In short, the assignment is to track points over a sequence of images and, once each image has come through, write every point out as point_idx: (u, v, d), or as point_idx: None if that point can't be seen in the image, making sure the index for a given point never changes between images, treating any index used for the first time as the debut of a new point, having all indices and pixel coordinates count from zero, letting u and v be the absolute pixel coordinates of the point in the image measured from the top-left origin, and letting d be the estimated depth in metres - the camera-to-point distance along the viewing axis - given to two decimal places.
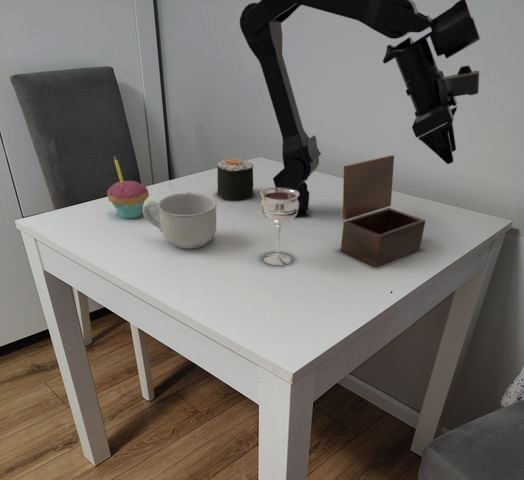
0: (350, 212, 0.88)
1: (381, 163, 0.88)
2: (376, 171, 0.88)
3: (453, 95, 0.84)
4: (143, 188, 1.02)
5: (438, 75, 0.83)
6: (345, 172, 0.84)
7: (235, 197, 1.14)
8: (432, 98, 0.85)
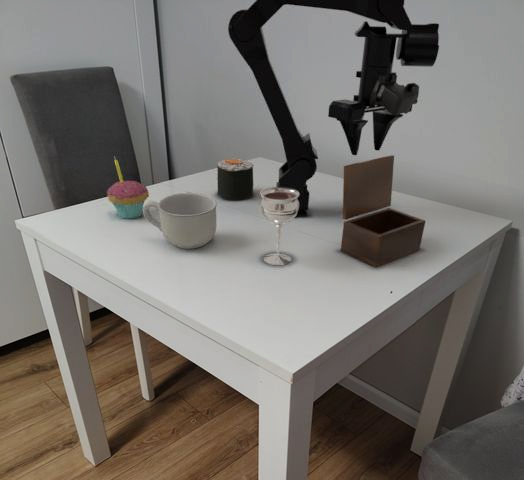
0: (350, 212, 0.88)
1: (381, 163, 0.88)
2: (376, 171, 0.88)
3: (380, 102, 0.91)
4: (143, 188, 1.02)
5: (379, 77, 0.90)
6: (345, 172, 0.84)
7: (235, 197, 1.14)
8: (367, 94, 0.93)
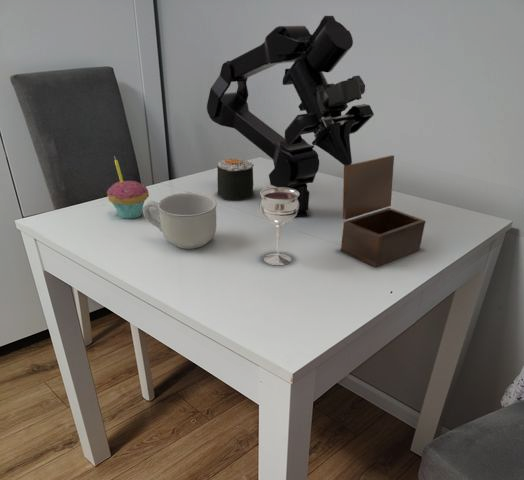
0: (350, 212, 0.88)
1: (381, 163, 0.88)
2: (376, 171, 0.88)
3: (329, 104, 0.87)
4: (143, 188, 1.02)
5: (316, 88, 0.88)
6: (345, 172, 0.84)
7: (235, 197, 1.14)
8: (315, 110, 0.89)
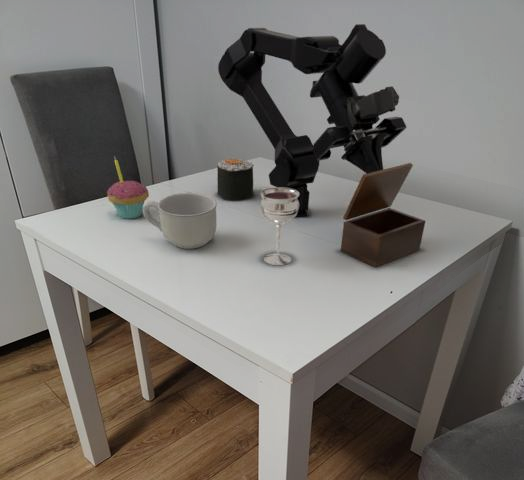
0: (352, 214, 0.88)
1: (398, 172, 0.86)
2: (390, 179, 0.87)
3: (360, 117, 0.82)
4: (143, 188, 1.02)
5: (346, 100, 0.83)
6: (362, 181, 0.82)
7: (235, 197, 1.14)
8: (345, 123, 0.85)
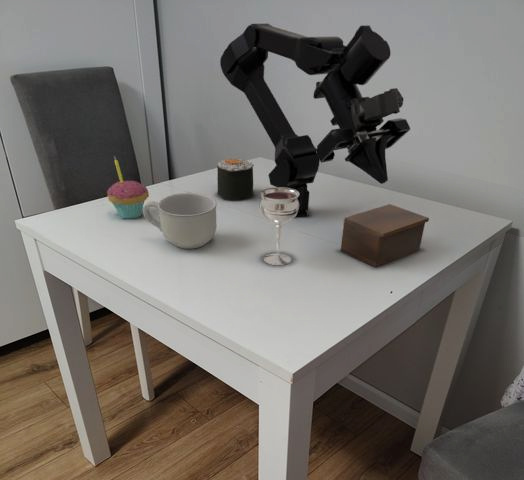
0: None
1: None
2: None
3: (364, 119, 0.82)
4: (143, 188, 1.02)
5: (350, 101, 0.83)
6: (378, 234, 0.83)
7: (235, 197, 1.14)
8: (349, 125, 0.84)
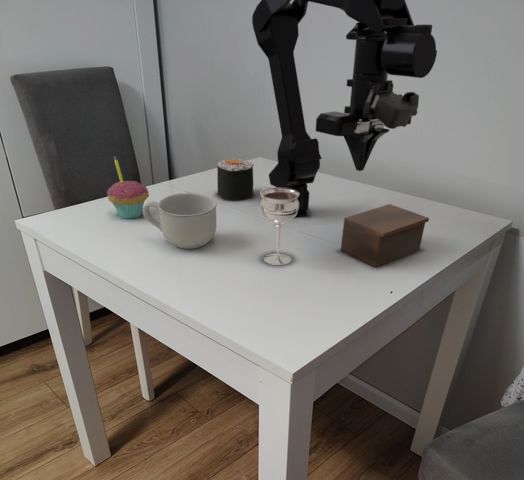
0: None
1: None
2: None
3: (374, 115, 0.80)
4: (143, 188, 1.02)
5: (372, 86, 0.78)
6: (378, 234, 0.83)
7: (235, 197, 1.14)
8: (359, 105, 0.81)
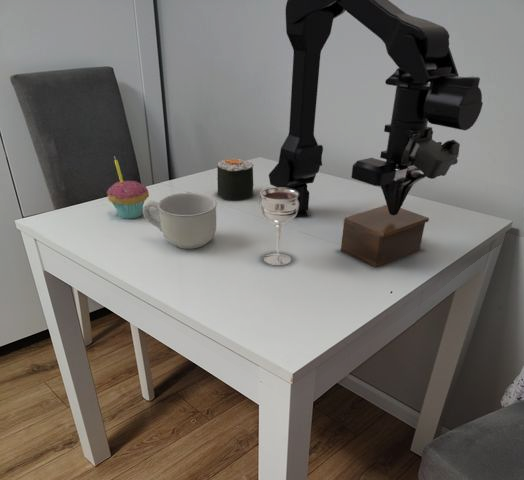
0: None
1: None
2: None
3: (413, 163, 0.77)
4: (143, 188, 1.02)
5: (412, 134, 0.76)
6: (378, 234, 0.83)
7: (235, 197, 1.14)
8: (397, 152, 0.79)
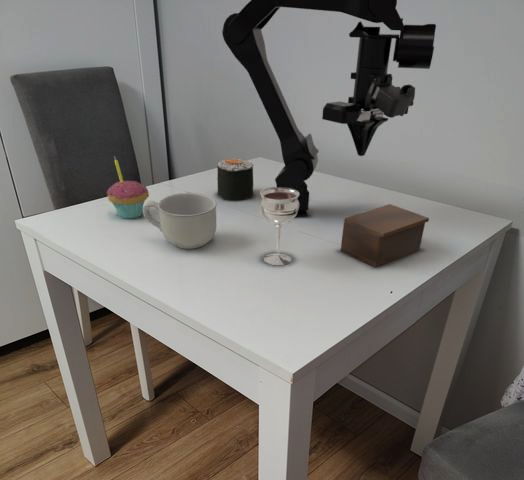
0: None
1: None
2: None
3: (375, 105, 0.89)
4: (143, 188, 1.02)
5: (374, 79, 0.88)
6: (378, 234, 0.83)
7: (235, 197, 1.14)
8: (361, 95, 0.90)
